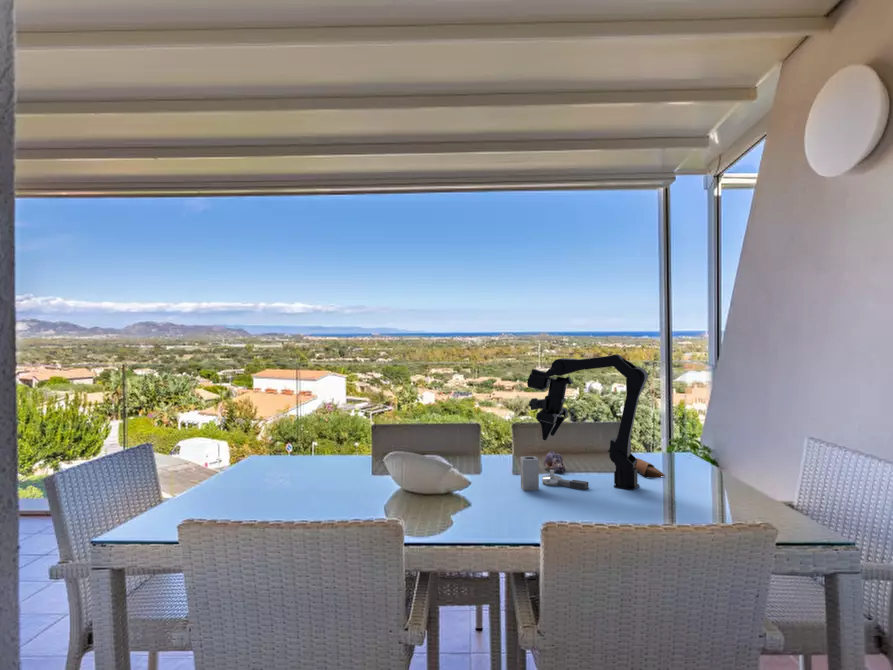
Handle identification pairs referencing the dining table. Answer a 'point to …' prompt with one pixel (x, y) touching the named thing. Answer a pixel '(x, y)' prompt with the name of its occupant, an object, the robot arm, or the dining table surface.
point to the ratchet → (563, 482)
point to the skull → (554, 461)
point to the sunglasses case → (647, 469)
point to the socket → (530, 473)
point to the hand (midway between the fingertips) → (548, 437)
